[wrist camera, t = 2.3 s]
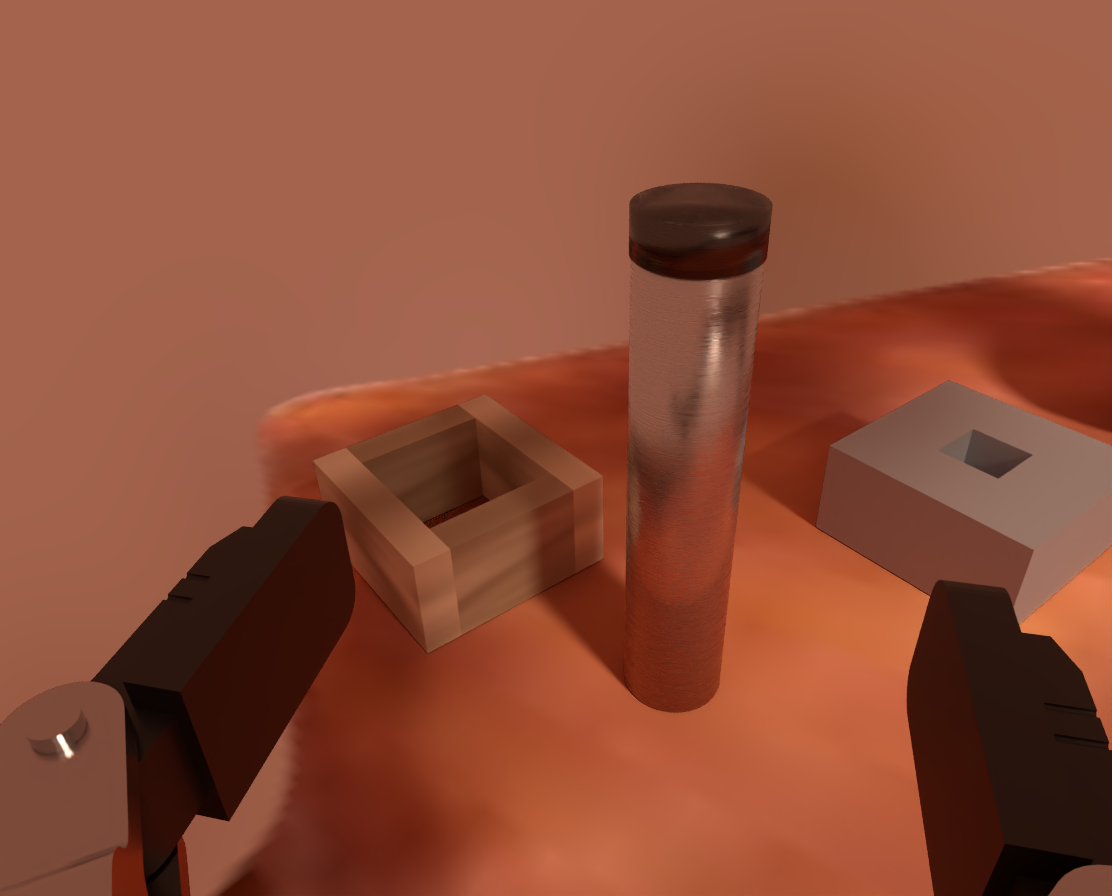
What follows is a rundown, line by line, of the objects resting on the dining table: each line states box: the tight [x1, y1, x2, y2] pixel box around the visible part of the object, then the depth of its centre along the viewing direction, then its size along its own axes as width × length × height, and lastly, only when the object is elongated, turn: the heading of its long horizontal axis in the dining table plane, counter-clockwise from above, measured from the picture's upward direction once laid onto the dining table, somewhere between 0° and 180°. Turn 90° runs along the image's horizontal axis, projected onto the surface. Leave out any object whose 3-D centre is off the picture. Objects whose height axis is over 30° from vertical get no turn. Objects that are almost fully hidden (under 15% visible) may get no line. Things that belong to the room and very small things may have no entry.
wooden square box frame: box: [313, 394, 603, 653], centre depth 33 cm, size 8×8×4 cm
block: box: [816, 380, 1112, 624], centre depth 33 cm, size 8×8×4 cm
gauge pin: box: [624, 183, 772, 713], centre depth 24 cm, size 3×3×16 cm
